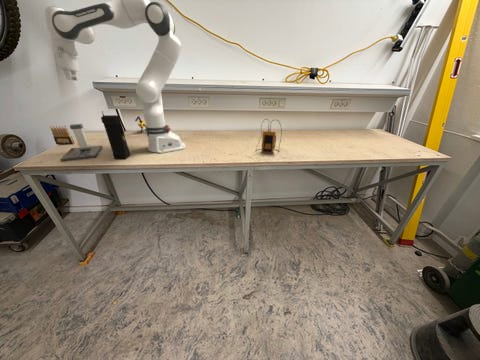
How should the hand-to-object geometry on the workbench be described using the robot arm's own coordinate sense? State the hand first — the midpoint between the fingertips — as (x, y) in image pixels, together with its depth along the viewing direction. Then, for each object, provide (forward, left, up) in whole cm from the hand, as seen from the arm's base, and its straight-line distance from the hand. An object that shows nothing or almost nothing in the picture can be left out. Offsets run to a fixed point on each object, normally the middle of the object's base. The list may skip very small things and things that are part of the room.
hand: (72, 80), depth 102 cm
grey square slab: (+6, +6, -38) cm, 39 cm away
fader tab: (+6, +1, -36) cm, 37 cm away
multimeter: (-99, +37, -38) cm, 113 cm away
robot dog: (-26, -31, -39) cm, 56 cm away
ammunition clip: (+22, -19, -39) cm, 48 cm away
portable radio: (-16, +19, -38) cm, 46 cm away
